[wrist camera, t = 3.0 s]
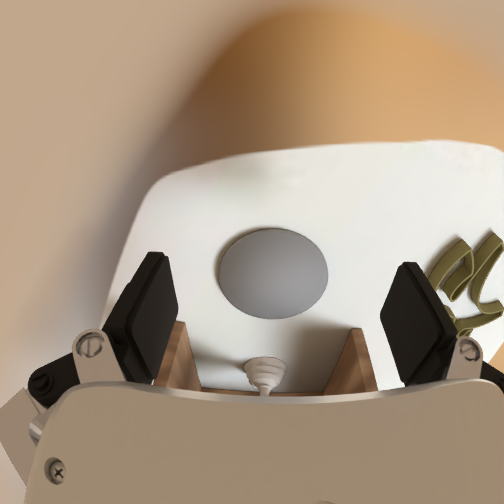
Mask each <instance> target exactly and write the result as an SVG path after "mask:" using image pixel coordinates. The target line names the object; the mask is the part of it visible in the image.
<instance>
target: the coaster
mask: <svg viewBox="0 0 504 504" xmlns="http://www.w3.org/2000/svg"><path fill="white" fill-rule="evenodd" d="M327 282H328V269H327V264H326V261H325V258H324V256H323V254H322V252H321V251H320V249H319V248H318V247H317V246H316V245H315V244H314V243H313V242H312V241H311V240H309V239H308V238H306V237H304V236H302V235H301V234H298V233H295V232H293V231H288V230H283V229H266V230H260V231H256V232H252V233H250V234H247V235H245V236H244V237H242V238H240V239H239V240H237V241H236V242H235V243H233V244H232V245H231V246H230V247H229V249H228V250H227V251H226V253H225V255H224V256H223V259H222V261H221V265H220V269H219V284H220V287H221V290H222V292H223V294H224V296H225V297H226V299H227V300H228V301H229V302H230V303H231V304H232V305H233V306H234V307H236V308H237V309H239V310H240V311H242V312H244V313H246V314H248V315H251V316H254V317H258V318H263V319H283V318H288V317H292V316H295V315H298V314H300V313H302V312H304V311H306V310H308V309H309V308H310V307H312V306H313V305H314V304H315V303H316V302H317V301H318V300H319V299H320V298H321V296H322V295H323V293H324V291H325V289H326V286H327Z"/></svg>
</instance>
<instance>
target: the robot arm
mask: <svg viewBox="0 0 504 504" xmlns="http://www.w3.org/2000/svg"><path fill="white" fill-rule="evenodd" d="M177 314H178V303H177V298H176V293H175V289H174V284H173V279H172V274H171V269H170V263H169V258H168V256H164V253H163V252H148V253H147V255H146V257H145V258H144V260H143V261H142V263H141V265H140V266H139V268H138V270H137V271H136V273H135V275H134V276H133V278H132V280H131V281H130V283H128V284H127V285H126V287H125V288H124V290H123V292H122V294H121V295H120V297H119V299H118V301H117V302H116V304H115V306H114V308H113V310H112V311H111V313H110V315H109V317H108V319H107V321H106V322H105V324H104V326H103V328H102V330H99V329H89V330H86V331H84V332H82V333H81V334H79V335H78V336H77V337H76V339H75V340H74V342H73V346H72V353H70V354H67V355H65V356H63V357H61V358H59V359H57V360H55V361H53V362H51V363H49V364H47V365H45V366H43V367H40V368H38V369H37V370H35V371H34V372H33V373H32V375H31V377H30V378H29V381H28V388H27V389H26V390H25V389H24V388H23V389H21V390H20V391H19V392H18V393H17V394H16V395H15V396H14V397H12V398H11V399H10V400H9V401H8V402H7V403H6V404H5V405H4V406H3V407H1V408H0V441H1V443H2V445H3V447H4V449H5V451H6V453H7V455H8V457H9V458H10V460H11V462H12V464H13V465H14V467H15V469H16V470H17V472H18V474H19V475H20V477H21V478H22V480H23V482H24V483H25V485H26V486H27V488H26V494H25V500H24V504H504V374H503V373H502V372H500V371H498V370H497V369H495V368H494V367H492V366H491V365H489V364H487V363H486V362H484V361H483V352H482V348H481V347H480V345H479V344H478V343H477V341H475V340H474V339H473V338H470V337H468V336H462V337H460V338H459V339H457V337H456V335H457V334H458V331H457V329H456V327H455V325H454V323H453V321H452V319H451V318H450V316H449V314H448V312H447V310H446V309H445V307H444V305H443V303H442V302H441V300H440V298H439V297H438V295H437V293H436V292H435V290H434V288H433V287H432V285H431V284H430V282H429V280H428V279H427V277H426V276H425V274H424V273H423V271H422V270H421V268H420V267H419V265H418V264H417V263H416V262H403V263H402V265H400V266H399V267H398V269H397V272H396V275H395V277H394V280H393V283H392V285H391V288H390V290H389V293H388V295H387V298H386V300H385V303H384V305H383V307H382V310H381V312H380V320H381V323H382V325H383V328H384V331H385V334H386V337H387V339H388V342H389V345H390V348H391V351H392V354H393V357H394V360H395V364H396V367H397V370H398V373H399V377H400V380H401V381H402V382H404V385H405V387H403V388H396V389H390V390H382V391H375V392H366V393H356V394H344V395H329V396H304V397H271V396H244V395H229V394H217V393H207V392H198V391H190V390H182V389H174V388H167V387H160V386H154V385H151V383H152V380H153V379H156V378H157V376H158V373H159V370H160V367H161V363H162V360H163V357H164V354H165V351H166V348H167V344H168V341H169V338H170V335H171V332H172V329H173V326H174V323H175V320H176V317H177Z"/></svg>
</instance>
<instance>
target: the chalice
mask: <svg viewBox="0 0 504 504" xmlns="http://www.w3.org/2000/svg"><path fill="white" fill-rule="evenodd" d="M286 369H287V367H286V364H285V363H284V362H283V361H281V360H279V359H276V358H271V357H259V358H254V359H251V360H249V361H248V362H246V364H245V365H244V370H245V372H246V373H247V377H248V379H249V382H250V384H251V385H252V386H253V387H254V388H256V389H258V390H259V391H260V396H269V392H270V390H272V389H274V388H276V387H277V386H278V385H279V384H280V383H281V379H282V378H283V375H284V373H285V372H286Z"/></svg>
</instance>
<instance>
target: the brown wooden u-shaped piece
mask: <svg viewBox="0 0 504 504" xmlns="http://www.w3.org/2000/svg"><path fill="white" fill-rule="evenodd" d="M153 385H154V386H160V387H167V388H174V389H182V390H190V391H198V392H207V393H217V394H229V395H244V396H260V392H246V391H232V390H220V389H210V388H201V385H200V381H199V377H198V374H197V370H196V366H195V362H194V358H193V354H192V350H191V346H190V342H189V338H188V334H187V330H186V325H185V323H183V322H175V323H174V326H173V329H172V332H171V335H170V338H169V341H168V344H167V348H166V351H165V354H164V357H163V360H162V363H161V367H160V370H159V373H158V376H157V378H156V379H155V380H154V384H153ZM375 391H378V388H377V383H376V379H375V375H374V371H373V367H372V364H371V360H370V356H369V352H368V349H367V345H366V341H365V338H364V335H363V331H362V329H351V331H350V334H349V336H348V338H347V341H346V343H345V346H344V348H343V351H342V353H341V355H340V358H339V360H338V362H337V364H336V367H335V369H334V371H333V373H332V375H331V378H330V380H329V382H328V384H327V386H326V388H325V390H324V392H313V393H269V396H271V397H304V396H329V395H344V394H356V393H366V392H375Z"/></svg>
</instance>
